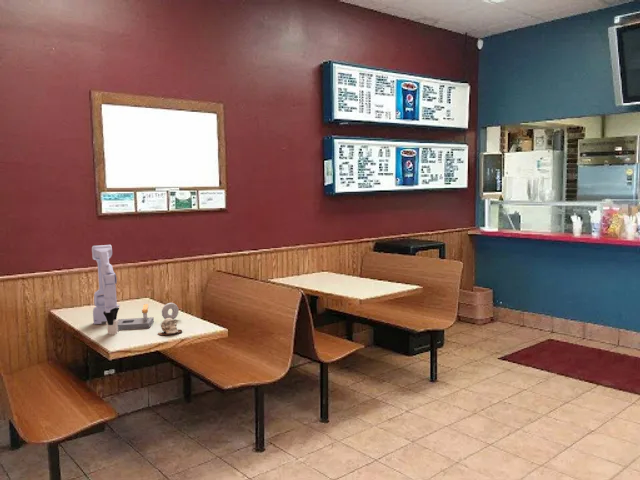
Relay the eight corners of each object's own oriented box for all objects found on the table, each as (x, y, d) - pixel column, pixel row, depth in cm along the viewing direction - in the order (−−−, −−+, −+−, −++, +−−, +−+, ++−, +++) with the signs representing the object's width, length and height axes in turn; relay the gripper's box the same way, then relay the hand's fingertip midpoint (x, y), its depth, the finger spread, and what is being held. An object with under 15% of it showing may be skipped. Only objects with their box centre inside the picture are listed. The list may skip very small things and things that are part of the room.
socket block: (109, 330, 287) (108, 317, 287) (116, 323, 301) (115, 311, 301) (149, 328, 290) (148, 315, 289) (153, 321, 304) (153, 309, 303)
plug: (101, 335, 279) (100, 322, 278) (103, 332, 284) (102, 319, 283) (116, 334, 280) (116, 321, 279) (119, 331, 285) (118, 319, 284)
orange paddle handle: (143, 307, 310) (143, 304, 309) (149, 306, 310) (148, 303, 310) (141, 313, 294) (141, 310, 294) (147, 312, 295) (147, 310, 294)
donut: (164, 322, 301) (163, 304, 300) (160, 321, 303) (159, 303, 302) (180, 319, 308) (179, 301, 307) (176, 318, 310) (176, 300, 309)
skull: (188, 330, 279) (175, 318, 273) (174, 346, 275) (161, 334, 269) (177, 325, 288) (164, 313, 282) (163, 341, 284) (150, 329, 278)
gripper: (115, 299, 273) (116, 326, 275) (121, 294, 288) (123, 319, 289) (100, 300, 272) (102, 327, 274) (108, 294, 287) (109, 320, 288)
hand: (112, 323), depth 281 cm, fingers open, 5 cm apart
